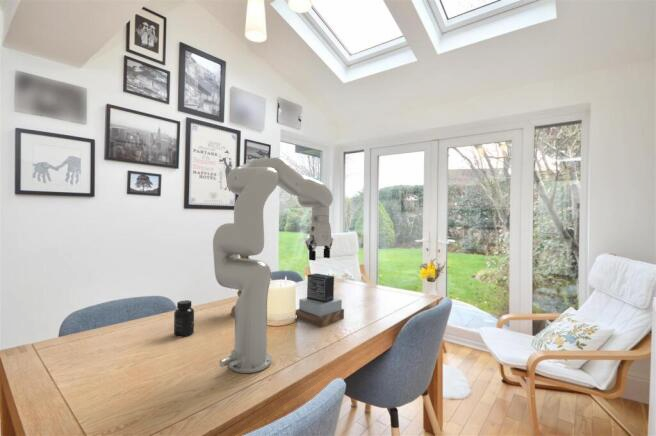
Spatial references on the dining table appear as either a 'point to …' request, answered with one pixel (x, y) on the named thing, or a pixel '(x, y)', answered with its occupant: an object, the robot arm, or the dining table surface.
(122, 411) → the dining table surface
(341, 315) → the tower base
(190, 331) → the supplement bottle
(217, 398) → the dining table surface
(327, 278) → the small box
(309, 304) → the tower top
